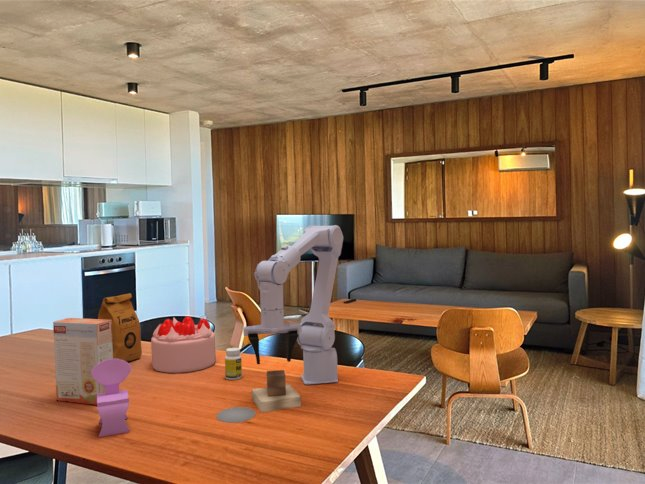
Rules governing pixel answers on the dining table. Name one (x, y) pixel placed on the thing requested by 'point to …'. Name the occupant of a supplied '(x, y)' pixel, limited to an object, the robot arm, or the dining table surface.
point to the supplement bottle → (233, 364)
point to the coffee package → (122, 327)
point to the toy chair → (112, 396)
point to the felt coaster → (235, 414)
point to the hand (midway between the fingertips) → (273, 361)
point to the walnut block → (276, 383)
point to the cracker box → (80, 357)
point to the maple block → (275, 399)
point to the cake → (183, 346)
